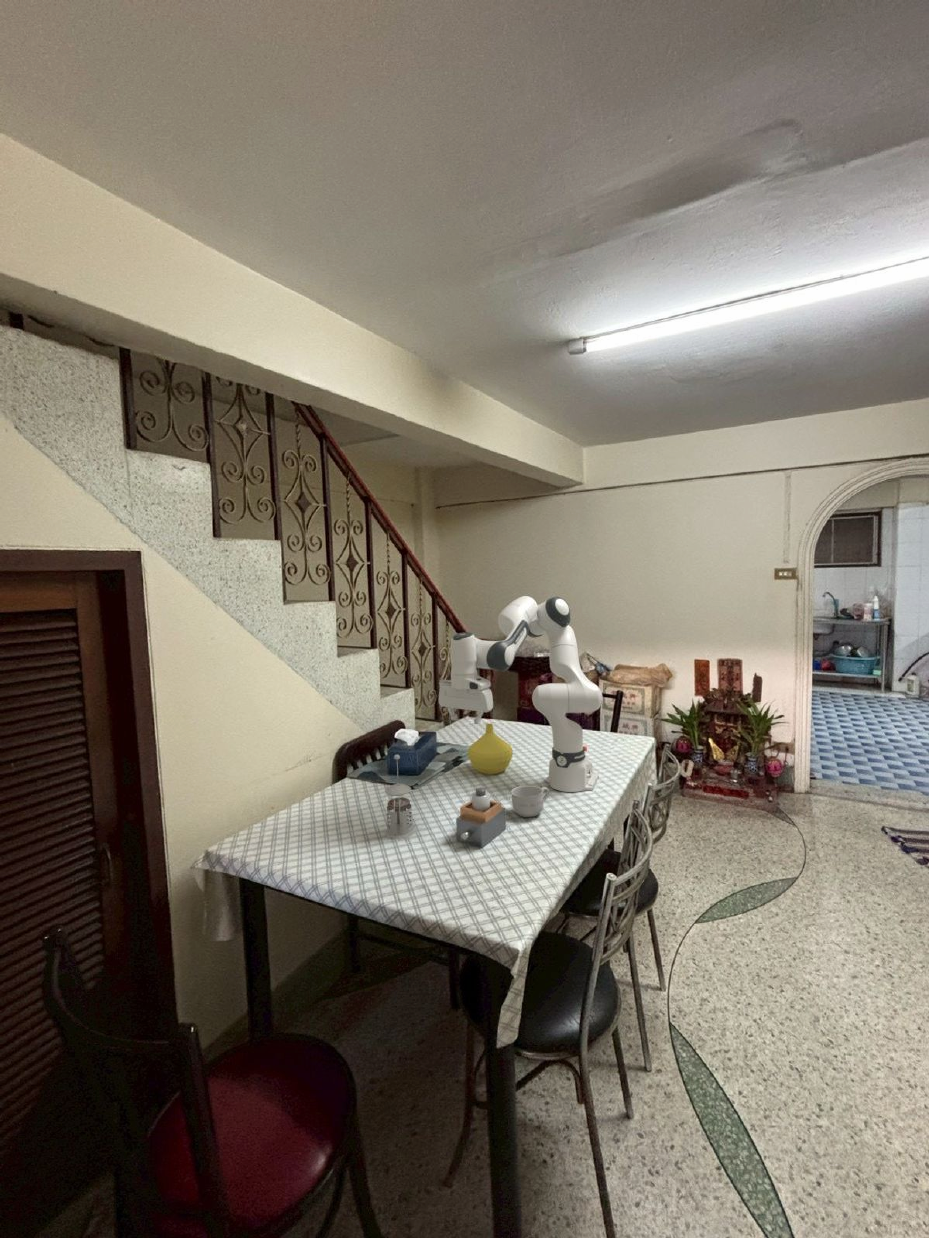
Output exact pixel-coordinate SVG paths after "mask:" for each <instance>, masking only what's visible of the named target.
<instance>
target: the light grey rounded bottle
mask: <svg viewBox="0 0 929 1238" xmlns="http://www.w3.org/2000/svg"><path fill="white" fill-rule="evenodd" d="M486 790H487V789H486V788H485V787H477V788H475V791H473V792H472V793H471V800H472V809H474V810H477V811H481V812H486V811H487V810H489V809H490V800H491V794H490V792H489V791H486Z"/></svg>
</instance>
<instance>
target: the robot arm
mask: <svg viewBox="0 0 929 1238" xmlns="http://www.w3.org/2000/svg"><path fill="white" fill-rule="evenodd" d="M570 622H571V609H570V606H569V603H568V602H567V601H566V600H565V599H564V598H563V597H560V596H554V597H551V598H548V599H547V600H545V601H543V602H542V603H540V604H537V602H536V600H535V599H534V598H533V597H531V596H528V595H523V596H520V597H517V598H516V599H514V600H513V601H512V602H510V603H509V604H508V605H507V606H505V608H503V609H502V610H501V612H500V613H499V615H498V617H497V623H498V627H499V630H500V631H501V633H503V634H504V636H507V637H506V638H505V639H504V640H497V641H495V640H482V639H480V638H478V637H476V636H475V635H474V633H472V632H469V631H468V632H467V631H465V632H464V631H463V632H459V633H455V634H454V635H453V636H452V637H451V640H450V641H451V642H450V647H449V648H450V650H449V654H450V655H449V656H450V664H451V670H450V679H442V680H441V681H440V682H439V691H438V692H439V693H438V704H439V706H440V707H443V708H444V707H446V708H447V712H448V713H449V715H450V720H451V721H454V722H456V721H457V720H458V714H456V713H455V709H459V710H466V711H472V712H476V713H475V714H476V715H477V716H476V717H475V718H474V719H473V724H475V725H481V721H482V720H481V719H482V717H483V715H484V713H488V712H491V711H492V710H493V707H494V701H493V692H492V690H491V685H492V683H491V681H490V679H489V680H488V679H486V678H484V677H481V676H480V675H478V670H477V668H478V669H485V670H493V671H498V672H506V671H507V670H509V669H510V667H511V666H512V665H513V662H514V661H515V659H516V655H517V653H518V652H519V651H520V649H521V647H522V646H523V644H524V642H525V640H526V639H527V637H530V638H531V639H534V638H539V637H542V636H544V635H545V634H546V635H547V637H548V654H549V655H548V657H549V668H550V671H551V672H552V674H554V675H555V676H557V677H559V678H561V679H563V680H564V681H565V682H566V683H565V682H561V683H559V682H558V683H557V682H556V683H551V682H550V683H543V684H540V685H537V686H536V687H535V689H533V692H532V695H531V699H532V701H531V702H532V703H533V706H534V707H535V709H536V711H538V712H540V713H541V714H542V715H543V716H544V717H545V718H546V720H547V721H548V723H549V726H550V727H551V733H552V748H551V757H552V758H551V759H550V760H549V762H548V776H547V777H545V782H547V783H548V785H549V786H550V787H551V788H552V789H554V790H557V791H560V792H567V793H577V792H582V791H593V790H594V787H595V785H596V784H597V781H598V780H599V775H600V774H598V773H597V772H594V771H593V770H594V769H593V763H592V761H590V760H589V759H588V758H587V757H586V752H587V750H588V746H587V745H584V740H583V739H584V736H583V735H584V733H583V728H582V726H581V725H580V724H579V723H577V722H576V721H573V720H571V719H569V718H567V717H566V715H567V714H569V713H574V714H576V713H589V712H594V711H598V710H599V709H600V707H601V706H602V704H603V692H602V690H601V689H600V687H599V686H598V685H597V684H595V683H594V682H592V681H591V680H590V679H588V678H587V677H586V675H585V673H584V672H583V670H582V668H581V664H580V659H579V650H578V644H577V642H578V641H577V638H576V634H575V631H574V629H573V627H571V625H570Z"/></svg>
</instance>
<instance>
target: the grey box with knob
mask: <svg viewBox="0 0 929 1238" xmlns="http://www.w3.org/2000/svg"><path fill="white" fill-rule="evenodd" d="M459 811H460V813H459V814H460V815H459V816H458V817H456V818H455V819H456V820H455V823H456V825H455V827H456V841H457V842H459V843H462V844H466V845H469V846H472V847H475V848H478V849H483V848H485V847H486V846H487V845H489V844H490V843H491V842H492V841H493V840H494V839H496V838H497V837H498V836H500V835H501V834H502V833H503V832H505V830H506V829H507V827H506V826H507V824H506V821H507V820H506V807H502V802H499V801H494V800H491V799H490V809H489V810H487V811H486V812H481V811H477V810H474V809H472V799H471V800H470V801H468V802H467V803H465V804H464V805H463V804H462V806H460V807H459Z"/></svg>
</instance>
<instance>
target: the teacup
mask: <svg viewBox="0 0 929 1238" xmlns="http://www.w3.org/2000/svg"><path fill="white" fill-rule="evenodd" d="M544 791H545V794H544ZM510 793H511V804H512V809H513V810H514V811H513V812H515V813H516V814H518V815H519V816H520V817H523V818H532V817H533V818H534V817H536V816H538V815H539V814H540V813H541V812H542V811H543V809H544V802H545V801H546V800H547V799H548V798H549V797H550V789H549V788H548V787H546V786H542V787H540V786H535V785H521V786H517V787H514V788H512V790H510Z"/></svg>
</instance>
